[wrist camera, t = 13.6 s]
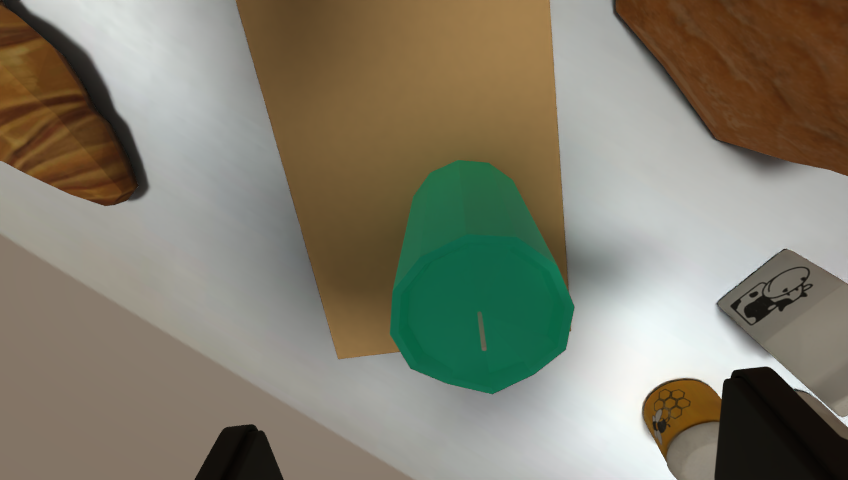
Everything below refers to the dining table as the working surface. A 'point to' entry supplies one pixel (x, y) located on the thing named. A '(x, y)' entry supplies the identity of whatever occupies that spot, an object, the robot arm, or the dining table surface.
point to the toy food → (784, 339)
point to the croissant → (55, 120)
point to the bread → (757, 70)
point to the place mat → (400, 128)
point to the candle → (477, 283)
